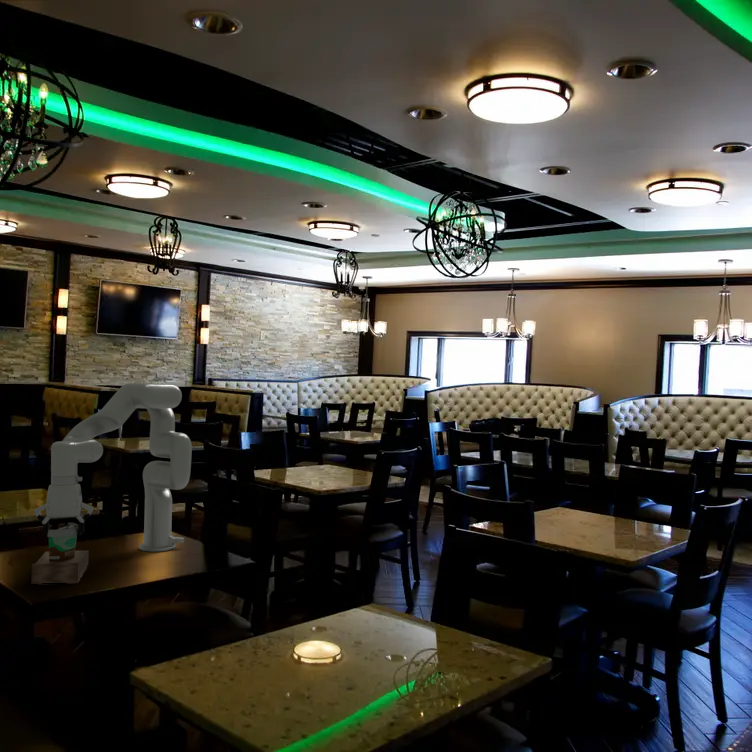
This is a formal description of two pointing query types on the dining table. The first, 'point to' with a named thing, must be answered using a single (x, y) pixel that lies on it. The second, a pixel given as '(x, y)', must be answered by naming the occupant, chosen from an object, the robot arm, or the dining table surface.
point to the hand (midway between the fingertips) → (64, 535)
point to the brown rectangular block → (59, 569)
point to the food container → (62, 542)
